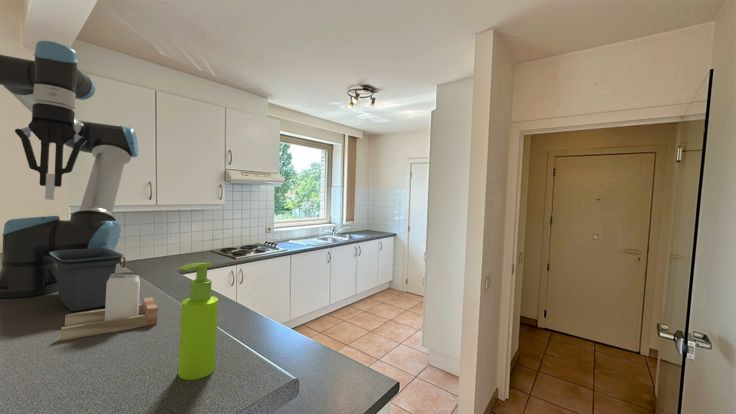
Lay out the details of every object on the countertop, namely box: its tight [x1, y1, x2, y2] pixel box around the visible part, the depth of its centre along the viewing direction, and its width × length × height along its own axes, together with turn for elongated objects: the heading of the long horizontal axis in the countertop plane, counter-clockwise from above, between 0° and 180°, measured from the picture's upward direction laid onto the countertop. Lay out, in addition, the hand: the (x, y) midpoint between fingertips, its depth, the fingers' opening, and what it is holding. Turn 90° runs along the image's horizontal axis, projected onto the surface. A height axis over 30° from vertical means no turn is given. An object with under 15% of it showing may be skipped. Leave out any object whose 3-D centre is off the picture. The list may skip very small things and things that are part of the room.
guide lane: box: [60, 296, 159, 342], centre depth 75 cm, size 10×17×4 cm, turn 130°
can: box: [104, 271, 141, 321], centre depth 76 cm, size 6×6×12 cm
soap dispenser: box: [177, 261, 219, 381], centre depth 57 cm, size 6×7×20 cm
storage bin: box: [49, 248, 126, 312], centre depth 90 cm, size 21×16×14 cm
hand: (50, 199), depth 79 cm, fingers closed
